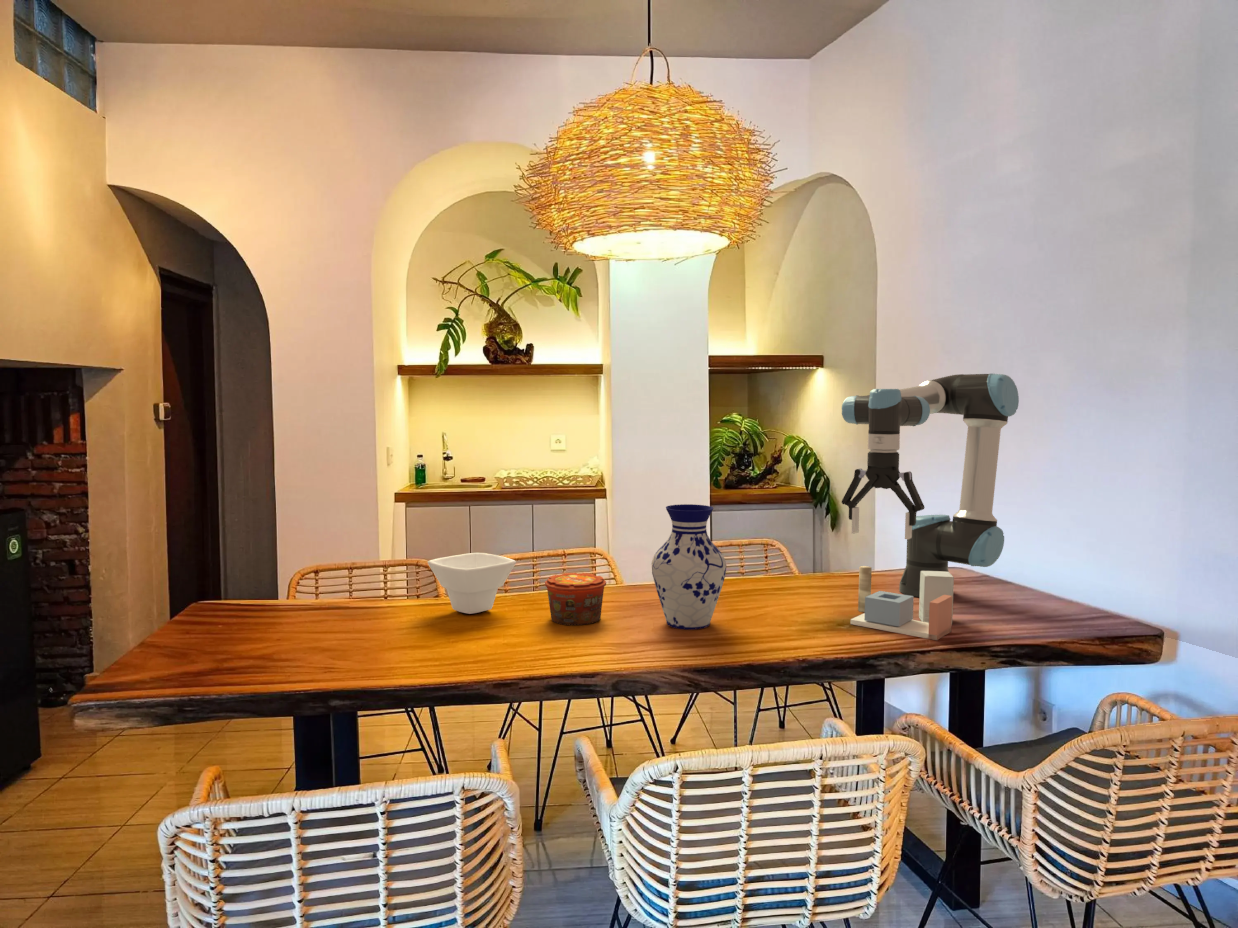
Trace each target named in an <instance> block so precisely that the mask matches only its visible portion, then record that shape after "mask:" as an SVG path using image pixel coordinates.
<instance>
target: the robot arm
mask: <svg viewBox="0 0 1238 928" xmlns="http://www.w3.org/2000/svg"><path fill="white" fill-rule="evenodd" d="M1019 401H1020V398H1019V391H1018V387H1017V385H1016V383H1015V381H1014V379H1012V378H1011V376H1009V375H1007V374H1001V373H974V374H971V373H969V374H963V373H962V374H952V375H945V376H944V377H943V376H942V377H939V378H934V379H930V380H926V381H924V382H922V383H920V384H919V385H918V386H911V387H907V388H900V389H899V388H872V390H870V391H869V394H868V395H850V396H847V397H846V398H845V399H844V400H843V402H842V404H841V416H842V418H843V420H844V422H845V423H847V424H853V425H868V435H867V449H868V450H869V451H868V452H867V460H866V461H867V468H866V470H865V469H863V468H856V469H855V470H854V474H853V478H852V480H851V482H850V484H849V486H848V488H847V490H846V492H845V494H844V495H843V498H842V500H841V504H842V505H845V506H847V507H848V520H849V521H851V534H857V533H859V531H860V530H859V528H860V506H858V504H859V503H860V502H861V501H862V499H863V498H865V496H866V495H867V494H869V492H870V491H871V489H873V488H874V489H883V490H889V489H890V490H891V491H892V492H893V493H894V494H895V495H896V496H897V498H898V499H899V500H900V501H901V503H902V505H903V506H904V508H906V510H908V511H906V512H905V517H904V518H905V519H904V520H905V521H904V522H905V524H904V525H905V527H904V539H905V540H906V562H905V563H906V564H905V568H904V571H903V573H902V575H901V578H900V580H899V584H898V585H899V588H898V590H899V592H900V594H903V595H909V596H914V598H915V597H917V598H920V572H921V571H944V572H949V573H950V571H949V562H950V563H955V564H962V565H967V566H970V567H980V568H981V567H982V568H988V567H991V566H992V565H994V564H995V563H996V562H997V561H998V559H999V558H1000V556H1001V555H1002V552H1003V549H1004V545H1005V535H1004V534H1005V532H1004V531H1003V529H1002V528H1000V527H999V526H998V525H997V524H998V519H997V518H996V517H995V516H994V514H993V506H994V499H995V498H994V497H995V489H996V480H997V470H998V468H997V467H998V460H999V450H1000V442H1001V441H1000V439H1001V430H1002V428H1004V426H1006V425H1007V424H1008V422H1009V421H1008V420H1009V417H1012V416H1014V415H1015V414H1016V413H1017V410H1018V408H1019ZM937 413H938V414H948V415H949V414H950V415H962V416H963V417H962V421H963V422H964V423H965V424H966V426H967V433H966V434H967V435H966V441H965V442H966V443H965V453H964V462H963V471H962V480H961V492H960V500H959V510H958V511H957V512H955V513H954V514H953V515H952V521H951V516H950V515H948V514H927V515H917V513H918V512H920V511H922V510H925V505H924V503H923V500H922V498H921V495H920V494H919V492H918V490H917V487H916V485H915V483H914V480H913V473H912V472H911V471H906V472H900V468H899V467H900V453H899V452H898V451H899V450H900V445H901V444H900V443H901V441H900V439H901V435H900V433H901V427H916V426H919V425H922V424H924V423H926V422H927V421H928V420H929V418H930V416H931V415H932V414H937ZM865 476H866V478H867V480H868V481H867V482H866V483H865V484H864V486H863V487H862V488H861V489H860V490H859V491H858V493H857V494H855V492H856V490H857V489H858V487H859V485H860V483H861V481H862V479H864V478H865ZM900 478H901V480H902V481H903V482H904V484H905V485H904V486H905V487H906V490H907V491H908V493H909V495H910V497H909V496H908V494H907V493H906V492H905V490H903V488H902V485H900V483H899V482H898V481H899V479H900ZM854 494H855V496H854ZM853 496H854V497H853ZM910 498H911V499H910ZM953 590H954V588H953Z"/></svg>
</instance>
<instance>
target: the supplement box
mask: <svg viewBox="0 0 1238 928" xmlns="http://www.w3.org/2000/svg"><path fill="white" fill-rule="evenodd" d="M954 582H955V577H954V576H953V575H952V573H950V571H949V572H944V571H921V572H920V597H918V598H919V599H918V600H919V601H918V603H919V604H918V618H919V620H920V621H922V622H927V623H929V606H930V602H931V601H933V600H935V599H937V598H939V597H941V596H943V595H950V596H952V617H953V611H954V610H953V609H954V589H953V588H954ZM952 625H953V620H952V621H951V626H952Z"/></svg>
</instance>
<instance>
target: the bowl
mask: <svg viewBox="0 0 1238 928" xmlns="http://www.w3.org/2000/svg"><path fill="white" fill-rule="evenodd" d="M516 564H517V561H516V560H514V559H512V558H509V557H505V556H503V555H498V554H491V553H486V552H471V553H470V552H469V553H462V554H456V555H450V556H449V555H448V556H444V557H438V558H434V559H430V560H427V565H428V566H429V568H430V570H431V572H432V573H433V574H434V576H435V578H436V579H437V581H438V583H439V585H440V586H441V587H442V588H444V589H446V592H447V594H448V599H449V602H450V605H451V608H452V609H453V610H454V611H456V612H459V613H463V614H467V615H468V614H469V615H470V614H477V613H481V612H485V611H489V610H492V608H493V606H494V603H495V599H496V595H497V594H498V593H497V592H498V589H499V588H500V587H503V586H504V584H505V582H506V581H507V579H508V578H509V575H510V574H511V572H512V570H513V569H514V568H515V565H516Z"/></svg>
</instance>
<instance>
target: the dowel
mask: <svg viewBox="0 0 1238 928" xmlns="http://www.w3.org/2000/svg"><path fill="white" fill-rule="evenodd" d="M872 568H873V567H872V566H868V565H860V566H859V568H858V575H859V576H858V601H857V605H858V606H857V611H858V612H860V613H865V597H866V596H869V595H871V594H872Z"/></svg>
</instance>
